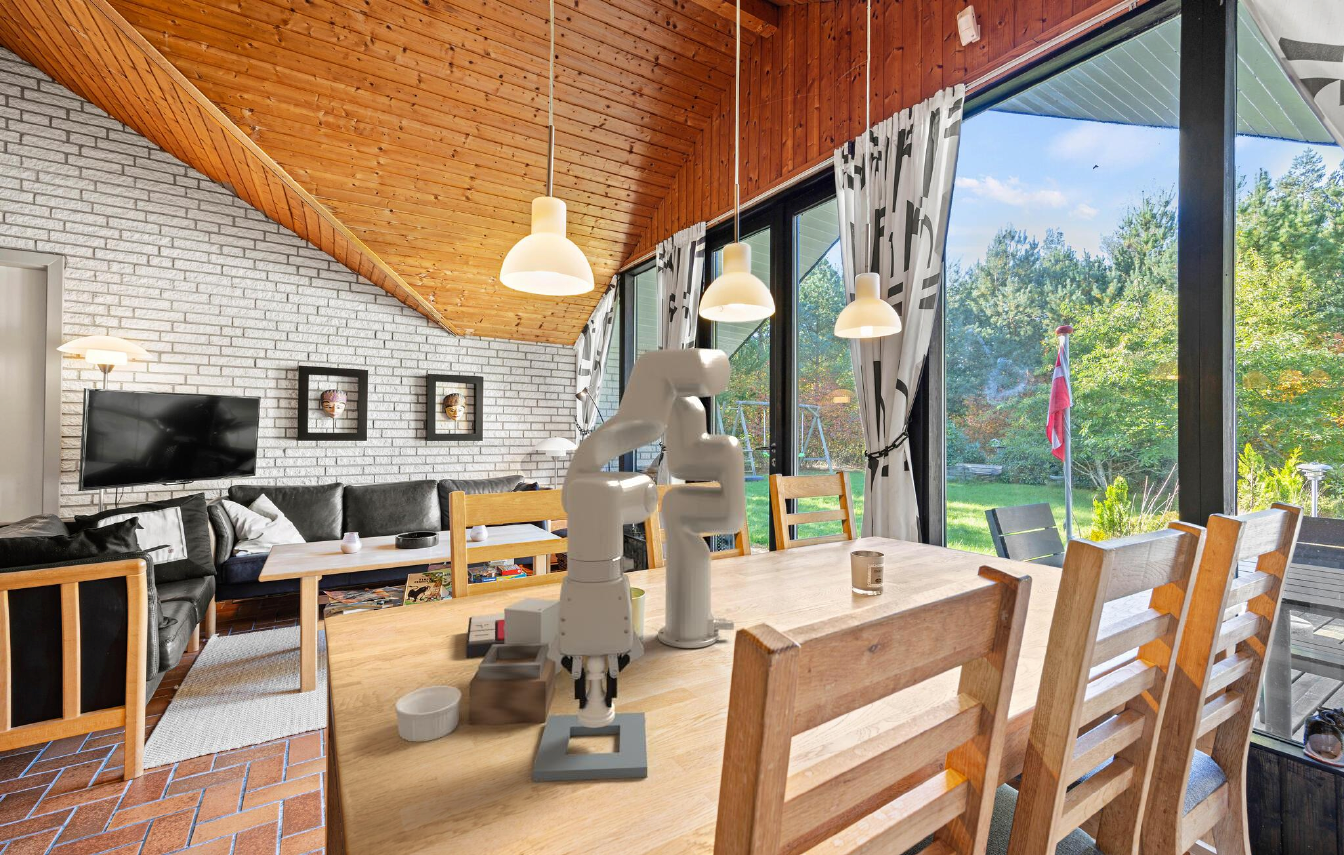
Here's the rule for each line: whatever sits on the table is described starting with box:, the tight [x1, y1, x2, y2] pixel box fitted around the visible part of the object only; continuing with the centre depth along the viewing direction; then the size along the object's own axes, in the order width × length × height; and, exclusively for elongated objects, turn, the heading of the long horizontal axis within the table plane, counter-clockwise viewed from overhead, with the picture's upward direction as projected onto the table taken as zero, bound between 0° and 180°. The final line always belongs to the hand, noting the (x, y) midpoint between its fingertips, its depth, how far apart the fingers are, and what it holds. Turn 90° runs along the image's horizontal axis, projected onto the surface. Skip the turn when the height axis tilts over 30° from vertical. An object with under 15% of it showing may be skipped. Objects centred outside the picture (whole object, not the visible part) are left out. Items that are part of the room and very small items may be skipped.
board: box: [531, 711, 648, 782], centre depth 77 cm, size 14×14×1 cm
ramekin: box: [394, 685, 463, 742], centre depth 82 cm, size 9×9×4 cm
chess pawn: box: [577, 655, 616, 728], centre depth 78 cm, size 5×5×9 cm
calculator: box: [465, 613, 505, 659], centre depth 117 cm, size 11×4×15 cm
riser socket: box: [468, 643, 556, 726], centre depth 89 cm, size 11×11×8 cm
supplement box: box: [503, 597, 562, 676], centre depth 100 cm, size 7×7×13 cm
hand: (596, 702), depth 78 cm, fingers closed on chess pawn, 3 cm apart
